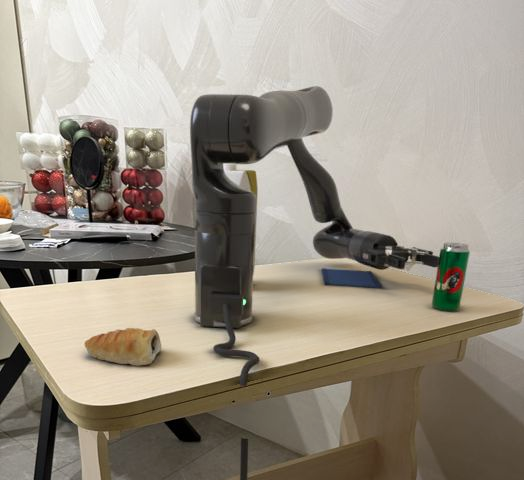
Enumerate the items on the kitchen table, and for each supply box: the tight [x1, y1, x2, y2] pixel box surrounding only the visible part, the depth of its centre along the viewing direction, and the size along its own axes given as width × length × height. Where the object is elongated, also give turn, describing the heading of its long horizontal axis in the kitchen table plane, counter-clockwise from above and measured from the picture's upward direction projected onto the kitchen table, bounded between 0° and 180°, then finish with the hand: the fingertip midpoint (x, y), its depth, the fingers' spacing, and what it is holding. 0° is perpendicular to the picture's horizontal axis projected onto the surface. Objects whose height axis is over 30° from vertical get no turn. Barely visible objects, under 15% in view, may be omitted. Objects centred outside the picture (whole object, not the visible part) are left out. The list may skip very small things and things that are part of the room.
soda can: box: [431, 242, 471, 312], centre depth 96 cm, size 5×5×12 cm
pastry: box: [84, 327, 162, 367], centre depth 67 cm, size 9×7×4 cm
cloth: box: [321, 267, 382, 289], centre depth 119 cm, size 16×12×1 cm
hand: (421, 263), depth 103 cm, fingers open, 8 cm apart
